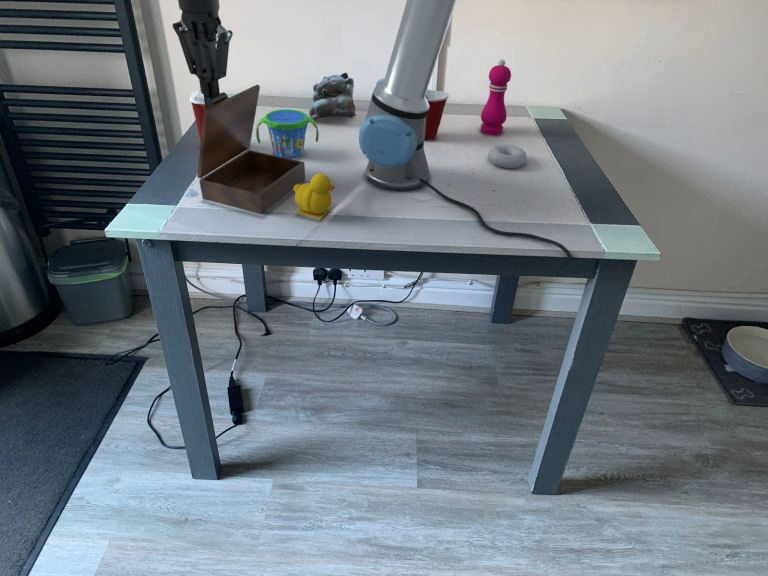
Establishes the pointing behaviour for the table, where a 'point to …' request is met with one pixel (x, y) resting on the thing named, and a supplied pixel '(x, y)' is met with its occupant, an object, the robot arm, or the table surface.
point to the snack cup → (287, 131)
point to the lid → (226, 128)
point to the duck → (314, 196)
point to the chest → (253, 181)
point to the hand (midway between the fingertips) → (212, 109)
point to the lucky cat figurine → (333, 97)
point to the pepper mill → (496, 100)
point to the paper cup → (198, 108)
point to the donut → (507, 156)
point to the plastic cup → (434, 113)
